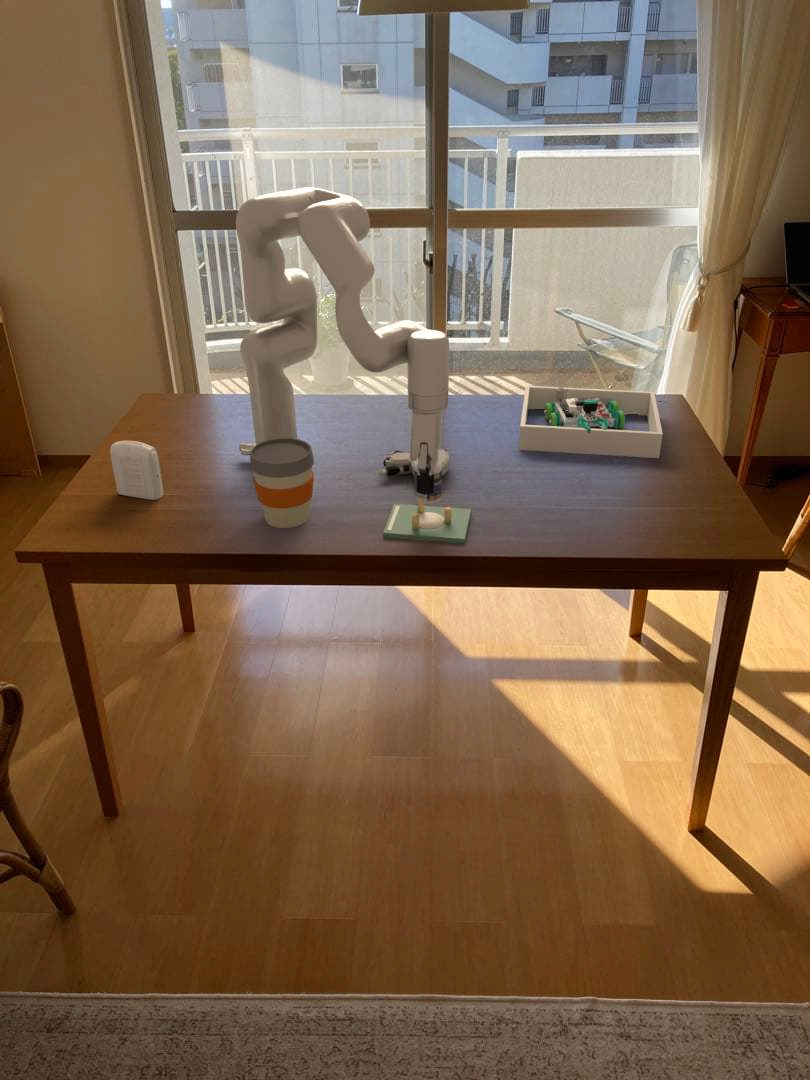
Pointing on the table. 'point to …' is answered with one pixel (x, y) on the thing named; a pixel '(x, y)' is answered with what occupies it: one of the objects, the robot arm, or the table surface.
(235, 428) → the table surface
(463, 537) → the board
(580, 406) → the robot kit
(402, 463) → the robot toy
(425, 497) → the pill bottle
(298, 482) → the reusable coffee cup
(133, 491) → the photo printer
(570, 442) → the storage frame
